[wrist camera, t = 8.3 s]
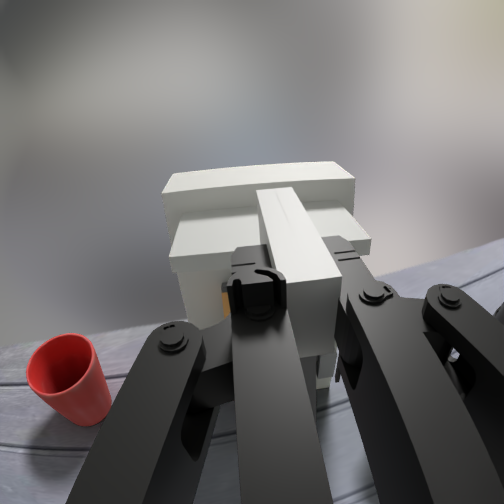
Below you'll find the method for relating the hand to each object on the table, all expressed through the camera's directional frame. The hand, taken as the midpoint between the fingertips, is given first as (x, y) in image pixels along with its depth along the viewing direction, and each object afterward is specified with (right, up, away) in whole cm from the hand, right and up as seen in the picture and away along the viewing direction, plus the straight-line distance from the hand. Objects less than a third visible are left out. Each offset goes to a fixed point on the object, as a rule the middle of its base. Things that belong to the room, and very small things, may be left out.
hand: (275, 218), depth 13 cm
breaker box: (+1, -21, +25) cm, 32 cm away
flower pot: (-24, -24, +23) cm, 41 cm away
